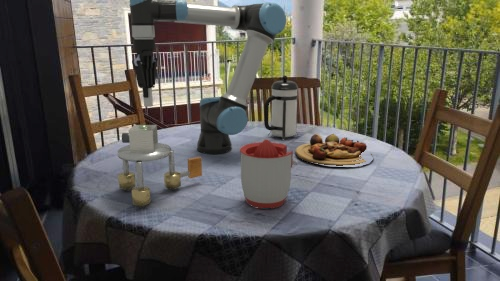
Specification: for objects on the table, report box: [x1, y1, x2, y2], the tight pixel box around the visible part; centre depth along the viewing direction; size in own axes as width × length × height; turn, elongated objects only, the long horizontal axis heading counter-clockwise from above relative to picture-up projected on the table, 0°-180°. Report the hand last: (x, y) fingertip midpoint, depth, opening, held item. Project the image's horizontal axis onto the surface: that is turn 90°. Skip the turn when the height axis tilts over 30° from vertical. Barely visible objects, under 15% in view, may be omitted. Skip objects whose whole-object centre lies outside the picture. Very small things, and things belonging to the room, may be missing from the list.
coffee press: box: [263, 75, 299, 140], centre depth 192 cm, size 17×16×30 cm
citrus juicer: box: [239, 139, 298, 209], centre depth 121 cm, size 16×17×20 cm
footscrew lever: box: [163, 149, 203, 190], centre depth 133 cm, size 13×5×13 cm, turn 128°
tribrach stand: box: [117, 124, 172, 209], centre depth 124 cm, size 18×19×23 cm
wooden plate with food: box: [294, 133, 368, 166], centre depth 167 cm, size 32×32×8 cm
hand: (148, 106), depth 145 cm, fingers closed
